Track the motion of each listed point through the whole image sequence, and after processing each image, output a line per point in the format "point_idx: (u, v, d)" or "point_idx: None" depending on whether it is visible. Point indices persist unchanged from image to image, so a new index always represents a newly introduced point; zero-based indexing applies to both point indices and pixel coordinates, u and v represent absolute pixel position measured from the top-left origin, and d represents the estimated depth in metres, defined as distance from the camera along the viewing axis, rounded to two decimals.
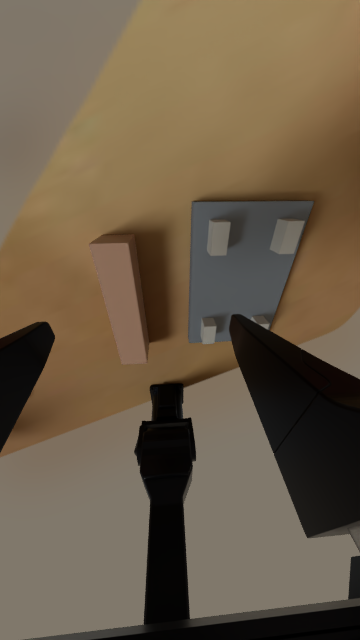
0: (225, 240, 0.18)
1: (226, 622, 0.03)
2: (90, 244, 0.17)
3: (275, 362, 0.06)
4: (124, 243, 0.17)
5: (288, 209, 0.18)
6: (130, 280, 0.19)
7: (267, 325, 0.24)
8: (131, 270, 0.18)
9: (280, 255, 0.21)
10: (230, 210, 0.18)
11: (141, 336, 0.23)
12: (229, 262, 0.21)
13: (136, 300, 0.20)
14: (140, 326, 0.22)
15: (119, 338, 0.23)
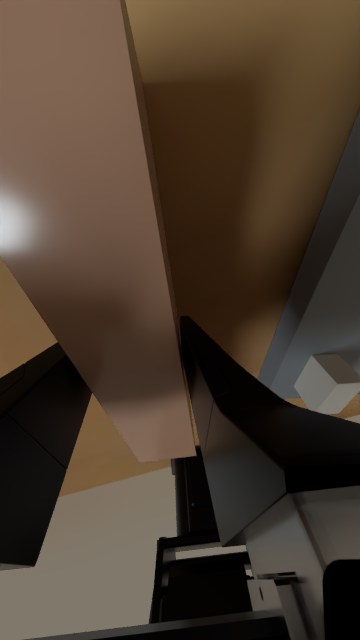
0: None
1: (226, 622, 0.03)
2: None
3: (196, 366, 0.06)
4: None
5: None
6: (145, 240, 0.04)
7: None
8: (145, 181, 0.03)
9: None
10: None
11: (185, 415, 0.08)
12: None
13: (171, 324, 0.05)
14: (183, 394, 0.07)
15: (126, 424, 0.08)
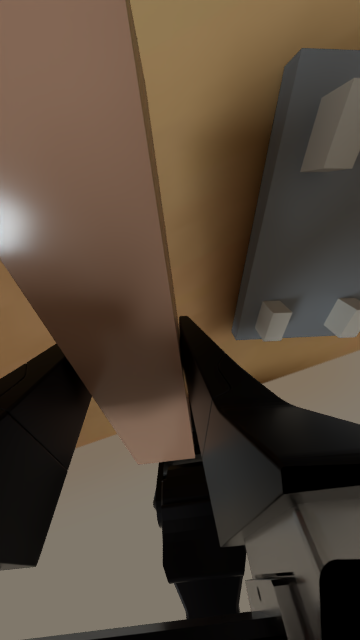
0: None
1: (226, 622, 0.03)
2: None
3: (195, 366, 0.06)
4: None
5: None
6: (147, 242, 0.04)
7: None
8: (148, 182, 0.03)
9: None
10: None
11: (185, 417, 0.08)
12: (332, 199, 0.12)
13: (172, 327, 0.05)
14: (183, 397, 0.07)
15: (125, 426, 0.08)
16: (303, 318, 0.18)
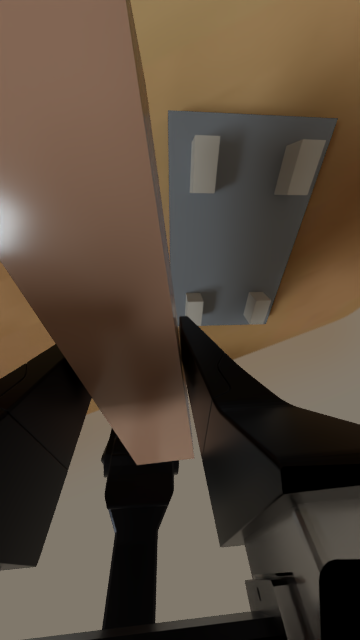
0: (213, 168, 0.12)
1: (226, 622, 0.03)
2: None
3: (195, 366, 0.06)
4: None
5: (301, 130, 0.13)
6: (146, 243, 0.04)
7: (268, 302, 0.19)
8: (147, 182, 0.03)
9: (287, 205, 0.16)
10: (221, 128, 0.13)
11: (184, 418, 0.08)
12: (220, 213, 0.16)
13: (171, 327, 0.05)
14: (182, 397, 0.07)
15: (124, 426, 0.08)
16: (225, 309, 0.21)
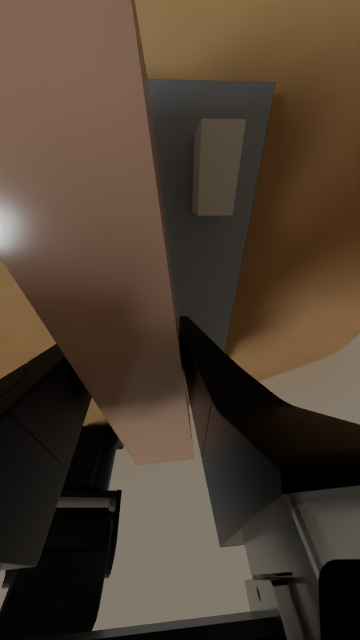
0: None
1: (226, 622, 0.03)
2: None
3: (195, 366, 0.06)
4: None
5: (215, 106, 0.08)
6: (149, 242, 0.04)
7: None
8: (150, 181, 0.03)
9: (217, 226, 0.10)
10: None
11: (184, 418, 0.08)
12: None
13: (173, 327, 0.05)
14: (183, 397, 0.07)
15: (124, 426, 0.08)
16: None
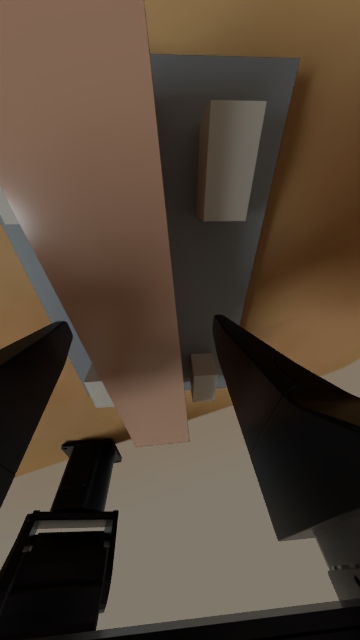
0: None
1: (226, 621, 0.03)
2: None
3: (248, 364, 0.06)
4: None
5: (225, 89, 0.06)
6: (155, 235, 0.05)
7: (214, 377, 0.12)
8: (159, 185, 0.04)
9: (225, 232, 0.09)
10: None
11: (181, 399, 0.09)
12: None
13: (173, 311, 0.06)
14: (180, 378, 0.08)
15: (126, 406, 0.09)
16: None
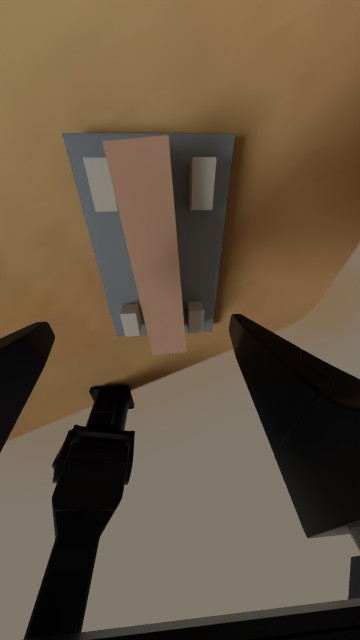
0: (109, 187, 0.13)
1: (226, 622, 0.03)
2: (105, 143, 0.10)
3: (275, 362, 0.06)
4: (162, 137, 0.10)
5: (201, 146, 0.13)
6: (169, 213, 0.12)
7: (202, 312, 0.19)
8: (171, 194, 0.11)
9: (205, 217, 0.16)
10: None
11: (181, 311, 0.16)
12: None
13: (176, 251, 0.13)
14: (180, 296, 0.15)
15: (150, 316, 0.16)
16: None
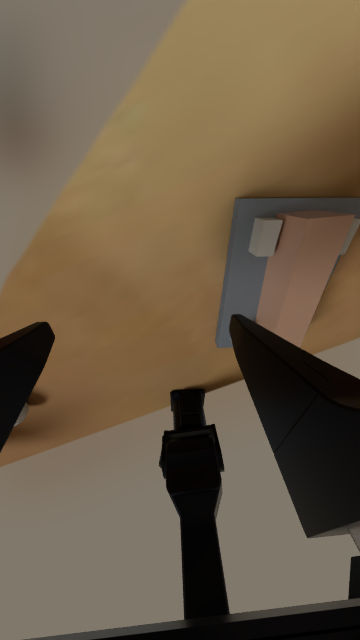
0: (274, 240, 0.16)
1: (226, 622, 0.03)
2: (308, 219, 0.13)
3: (275, 362, 0.06)
4: (349, 215, 0.13)
5: (340, 206, 0.17)
6: (331, 263, 0.15)
7: None
8: (339, 251, 0.15)
9: None
10: (278, 207, 0.17)
11: (304, 332, 0.20)
12: None
13: (322, 289, 0.17)
14: (309, 320, 0.19)
15: None
16: None
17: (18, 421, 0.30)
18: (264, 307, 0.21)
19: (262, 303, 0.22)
